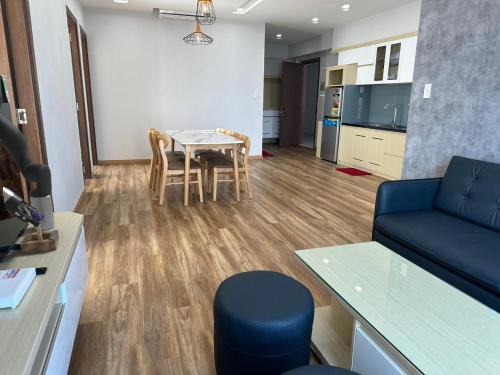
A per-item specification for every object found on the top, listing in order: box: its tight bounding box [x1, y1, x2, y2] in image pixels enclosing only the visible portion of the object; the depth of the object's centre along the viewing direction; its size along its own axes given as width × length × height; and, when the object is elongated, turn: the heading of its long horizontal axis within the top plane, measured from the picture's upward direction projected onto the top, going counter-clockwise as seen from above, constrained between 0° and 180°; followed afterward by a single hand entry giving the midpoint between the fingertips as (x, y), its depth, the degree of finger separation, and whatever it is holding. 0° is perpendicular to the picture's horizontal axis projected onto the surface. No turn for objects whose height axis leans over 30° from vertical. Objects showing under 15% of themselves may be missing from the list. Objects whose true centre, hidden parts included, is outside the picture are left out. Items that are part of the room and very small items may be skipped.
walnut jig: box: [20, 229, 60, 255], centre depth 158 cm, size 13×13×5 cm
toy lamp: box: [31, 211, 43, 240], centre depth 156 cm, size 5×5×17 cm
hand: (40, 222), depth 156 cm, fingers open, 8 cm apart
